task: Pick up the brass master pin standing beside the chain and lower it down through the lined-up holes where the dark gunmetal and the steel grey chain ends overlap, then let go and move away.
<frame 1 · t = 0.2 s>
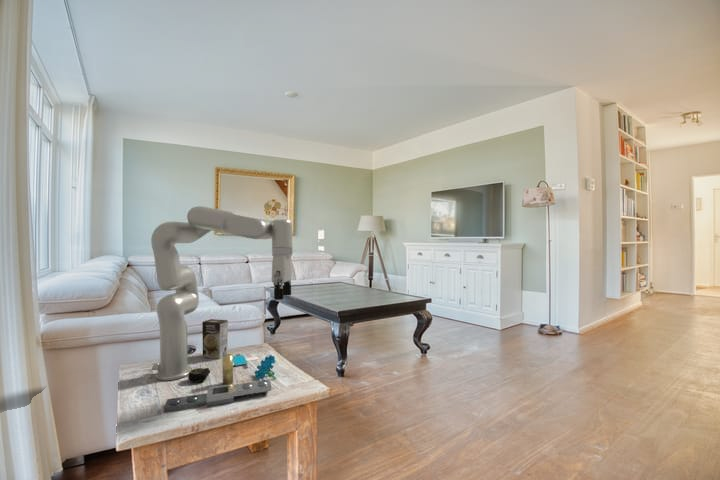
hand: (283, 297, 131), 31 cm above the table, fingers open, 9 cm apart
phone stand: (243, 362, 151), on the table
master pin: (228, 382, 128), on the table
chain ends: (220, 399, 114), on the table
tape measure: (200, 380, 131), on the table
gear: (265, 377, 133), on the table
coffee box: (215, 356, 158), on the table
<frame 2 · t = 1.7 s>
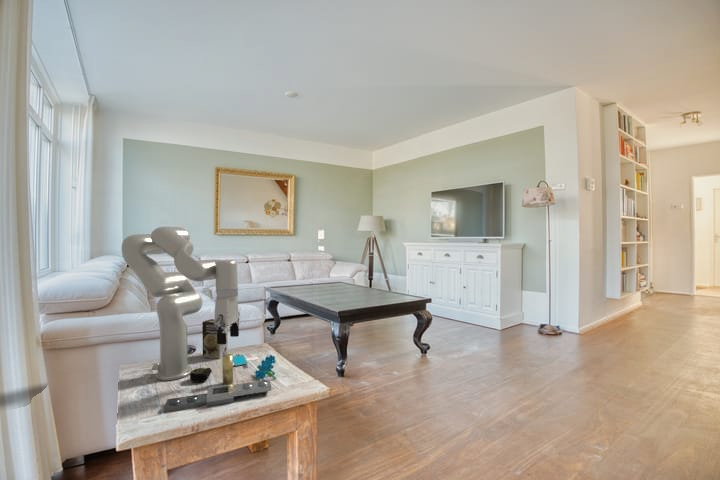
hand: (228, 340, 128), 16 cm above the table, fingers open, 9 cm apart
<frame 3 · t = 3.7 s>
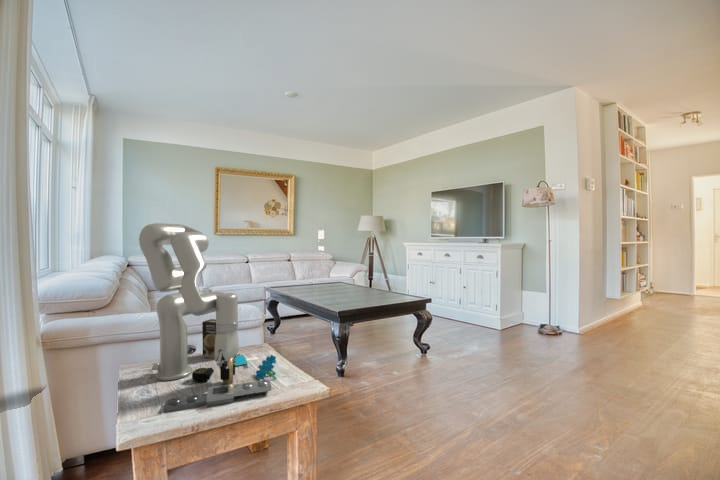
hand: (227, 376, 128), 2 cm above the table, fingers closed on master pin, 3 cm apart
master pin: (228, 382, 128), on the table, touching gripper
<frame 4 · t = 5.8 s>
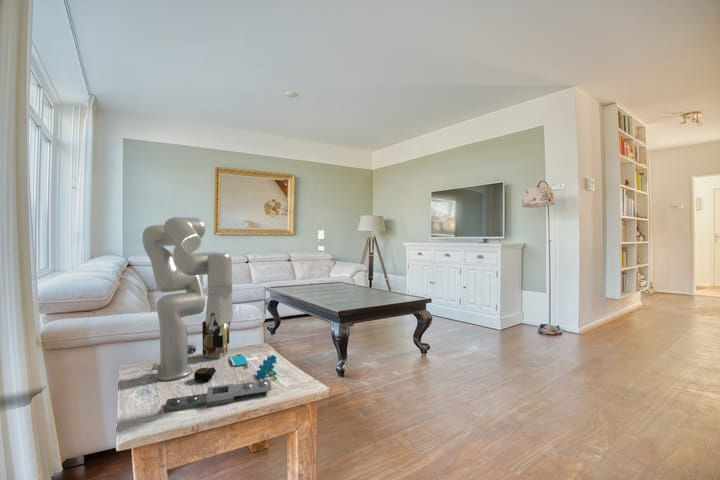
hand: (221, 344, 115), 18 cm above the table, fingers closed on master pin, 3 cm apart
master pin: (221, 351, 115), point 15 cm above the table, touching gripper
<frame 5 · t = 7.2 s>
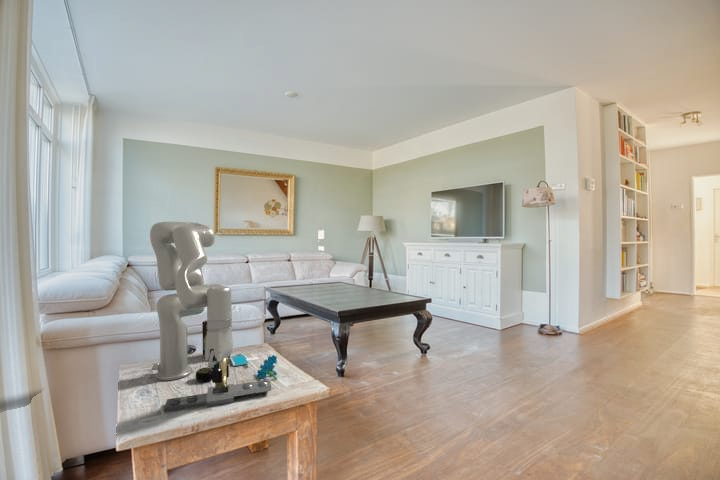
hand: (220, 379, 114), 7 cm above the table, fingers closed on master pin, 3 cm apart
master pin: (221, 386, 114), point 4 cm above the table, touching gripper
when the fingers open (4 cm above the table, at t = 8.3 s): master pin drops 2 cm, resting in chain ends.
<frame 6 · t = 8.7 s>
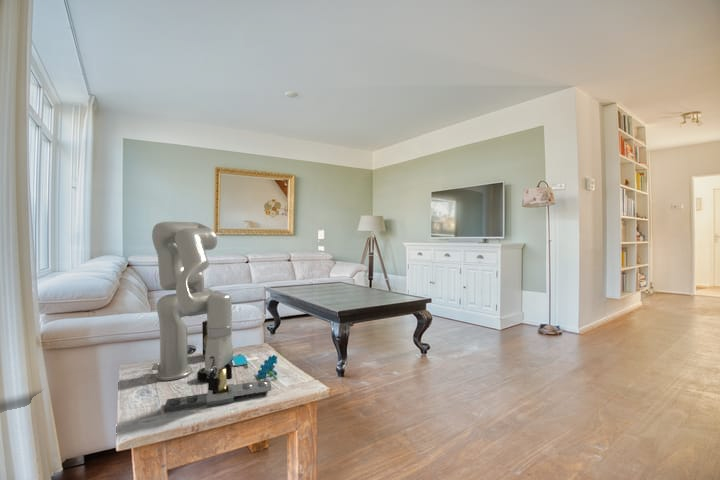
hand: (220, 384, 114), 5 cm above the table, fingers open, 8 cm apart
master pin: (220, 399, 114), resting in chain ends
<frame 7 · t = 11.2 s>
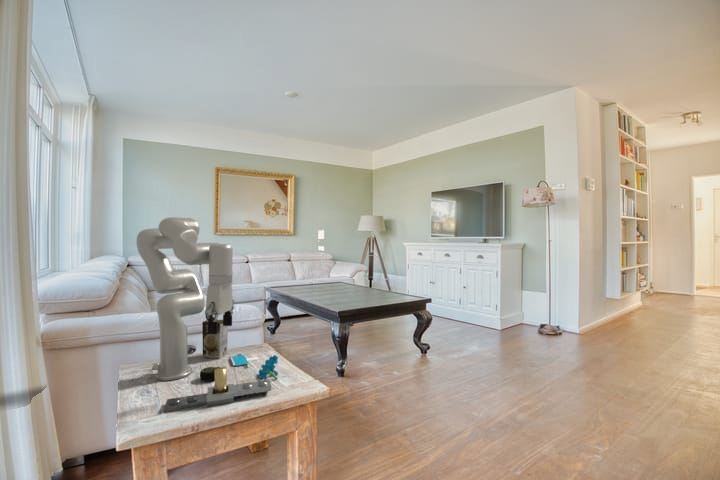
hand: (220, 329, 119), 22 cm above the table, fingers open, 9 cm apart
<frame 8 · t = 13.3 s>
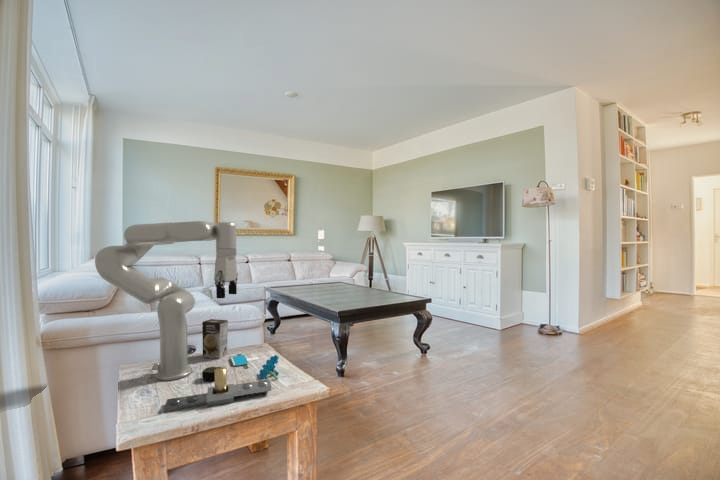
hand: (226, 296, 138), 30 cm above the table, fingers open, 9 cm apart
at the end: master pin 0.0 cm off-centre on the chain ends, point 0.0 cm above the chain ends's base; master pin tilted 0°; the gripper is holding nothing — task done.
